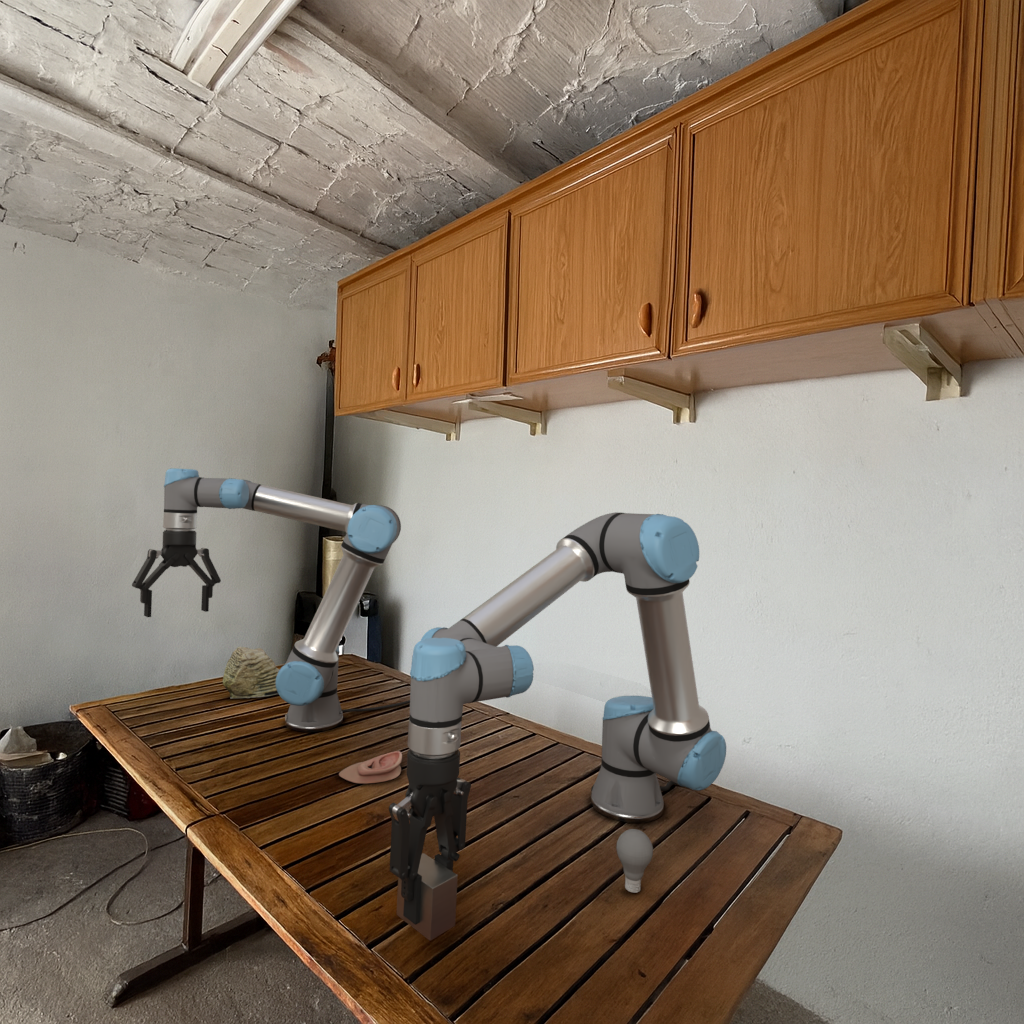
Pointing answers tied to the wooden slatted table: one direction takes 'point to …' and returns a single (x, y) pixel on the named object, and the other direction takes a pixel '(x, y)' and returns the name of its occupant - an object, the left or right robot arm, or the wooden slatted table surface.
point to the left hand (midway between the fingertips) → (177, 613)
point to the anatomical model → (374, 769)
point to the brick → (433, 899)
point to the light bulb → (634, 857)
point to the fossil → (250, 674)
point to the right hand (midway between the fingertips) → (426, 910)
